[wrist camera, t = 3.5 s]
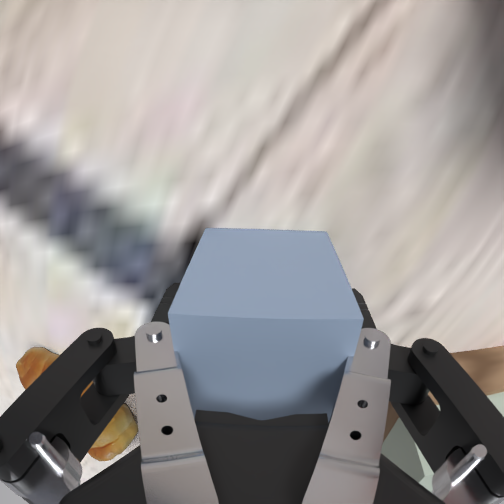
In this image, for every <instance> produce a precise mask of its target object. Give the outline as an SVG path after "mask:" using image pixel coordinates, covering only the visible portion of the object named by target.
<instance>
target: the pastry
mask: <svg viewBox="0 0 504 504" xmlns="http://www.w3.org/2000/svg"><path fill="white" fill-rule="evenodd" d="M59 356H60V355H58V354H54V353H52V352H50V351H48V350H46V349H45V348H43V347H33V348H31V349H29V350H27V352H26V353H25V354H24V355H23V357H22V358H21V359H20V360H19V361H18V362H17V364H16V368H17V371H18V374H19V378H20V381H21V383H22V385H23V387H24V388H25V389H27V388H28V387H29V386H30V385H31V384H32V383H33V382H34V381H35V380H36V379H37V378H38V377H39V376H40V375H41V374H42V373H43V372H44V371H45V370H46V369H47V368H48V367H49V366H50V365H51V364H52V363H53V362H54V361H55V360H56V359H57V358H58V357H59ZM92 383H93V381H92V382H91V383H90V384H89V385H88V386H87V387H86V389H85V390H84V391H83V392H82V394H81V396H82V395H83V394H84V393H85V392H86V390H87V389H88V388H89V387H90V386H91V384H92ZM137 432H138V426H137V424H136V422H135V420H134V418H133V416H132V414H131V411H130V409H129V408H128V407H127V405H126V404H123V405H122V406H121V407H120V409H119V410H118V411H117V413H116V414H115V415H114V417H113V418H112V420H111V421H110V422H109V424H108V425H107V426H106V428H105V429H104V430H103V432H102V433H101V435H100V436H99V437H98V439H97V440H96V441H95V443H94V444H93V446H92V447H91V448H90V450H89V451H88V453H89V454H90V456H91V457H93V458H95V459H96V460H98V461H108V460H111V459H113V458H114V457H115V456H116V455H118V454H121V453H122V452H123V451H124V450H125V449H126V448H127V447H128V446H129V444H130V443H131V442H132V440H133V439H134V437H135V436H136V434H137Z"/></svg>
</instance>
